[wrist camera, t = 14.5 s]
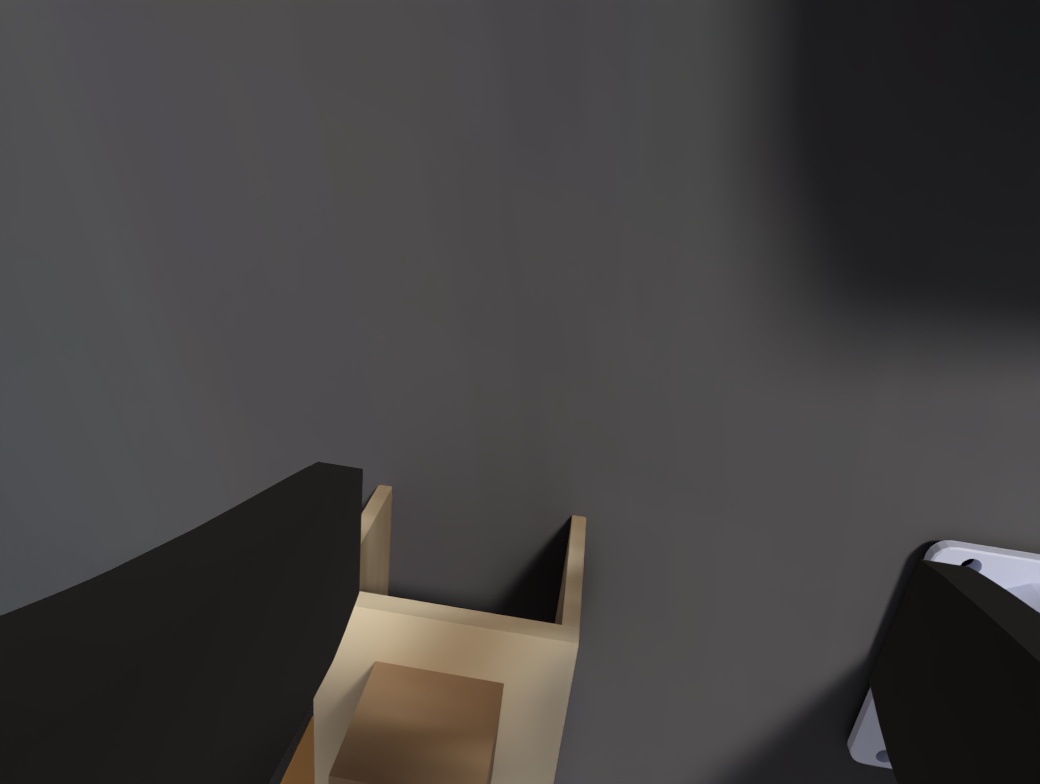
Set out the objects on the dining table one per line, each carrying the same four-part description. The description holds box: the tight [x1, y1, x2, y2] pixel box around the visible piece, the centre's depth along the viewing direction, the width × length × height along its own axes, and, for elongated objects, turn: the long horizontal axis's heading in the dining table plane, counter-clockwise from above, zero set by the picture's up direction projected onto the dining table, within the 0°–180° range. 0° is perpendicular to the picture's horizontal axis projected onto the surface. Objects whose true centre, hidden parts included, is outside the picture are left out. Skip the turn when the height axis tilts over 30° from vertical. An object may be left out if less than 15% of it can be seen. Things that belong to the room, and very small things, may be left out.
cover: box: [313, 485, 586, 784], centre depth 18 cm, size 6×6×8 cm
